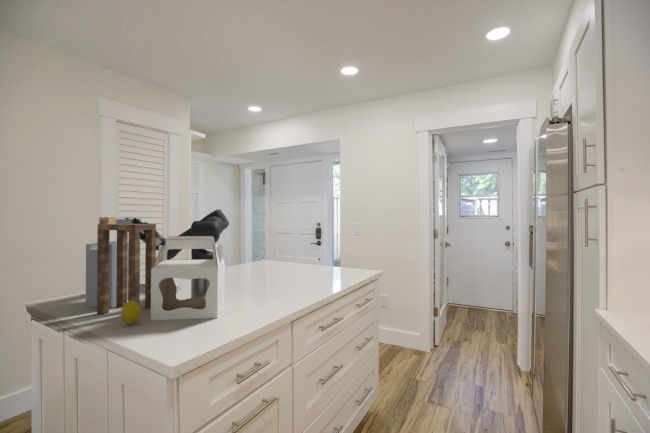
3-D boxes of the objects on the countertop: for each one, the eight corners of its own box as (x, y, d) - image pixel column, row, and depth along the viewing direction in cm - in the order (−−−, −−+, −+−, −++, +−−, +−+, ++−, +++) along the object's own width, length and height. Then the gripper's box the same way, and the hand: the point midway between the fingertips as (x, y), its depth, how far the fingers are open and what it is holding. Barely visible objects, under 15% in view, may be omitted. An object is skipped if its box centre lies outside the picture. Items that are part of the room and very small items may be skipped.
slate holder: (134, 297, 134) (135, 241, 134) (110, 307, 120) (110, 244, 120) (112, 297, 135) (112, 241, 135) (85, 306, 121) (86, 244, 121)
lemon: (144, 322, 103) (145, 298, 103) (133, 328, 98) (133, 302, 98) (129, 321, 104) (129, 297, 104) (116, 327, 98) (116, 302, 98)
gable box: (149, 320, 105) (150, 237, 105) (164, 309, 118) (165, 235, 118) (218, 318, 108) (218, 237, 108) (225, 307, 121) (225, 235, 121)
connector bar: (141, 225, 143) (141, 216, 143) (108, 227, 123) (108, 217, 123) (133, 225, 143) (133, 216, 143) (99, 227, 123) (99, 217, 123)
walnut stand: (155, 305, 122) (155, 223, 122) (134, 315, 110) (135, 224, 110) (120, 305, 123) (121, 223, 123) (96, 314, 111) (97, 224, 111)
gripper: (162, 243, 151) (142, 227, 136) (134, 243, 152) (111, 226, 137) (166, 230, 155) (147, 212, 140) (139, 229, 155) (117, 212, 140)
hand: (129, 219), depth 138 cm, fingers closed on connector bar, 3 cm apart
